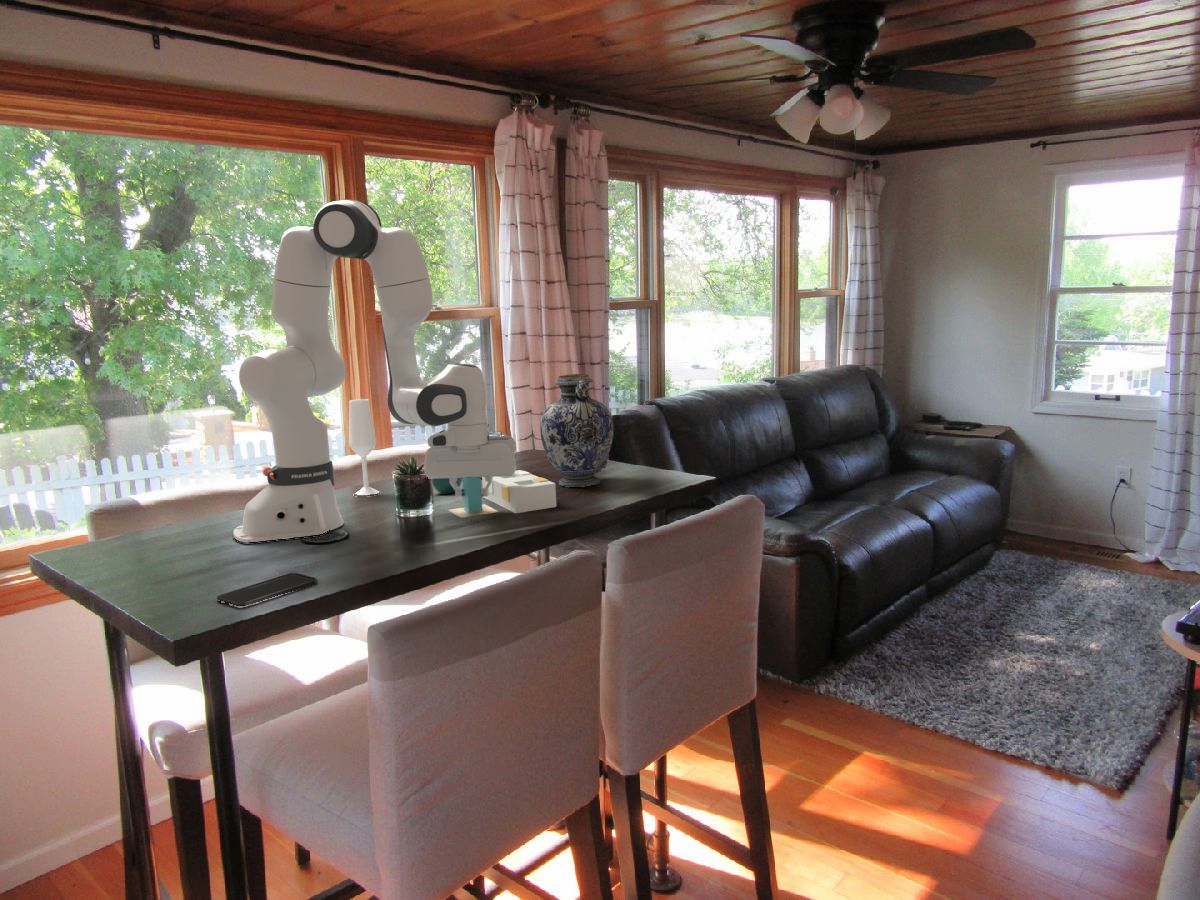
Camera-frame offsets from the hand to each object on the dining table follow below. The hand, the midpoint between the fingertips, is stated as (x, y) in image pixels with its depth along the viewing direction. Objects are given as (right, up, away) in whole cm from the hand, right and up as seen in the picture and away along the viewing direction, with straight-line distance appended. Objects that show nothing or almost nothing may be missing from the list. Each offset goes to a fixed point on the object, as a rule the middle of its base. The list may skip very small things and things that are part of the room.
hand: (472, 496), depth 196 cm
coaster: (0, -4, +1) cm, 4 cm away
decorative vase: (+23, +2, +29) cm, 37 cm away
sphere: (-10, -1, +23) cm, 24 cm away
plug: (0, -3, +1) cm, 3 cm away
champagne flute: (-31, -1, +26) cm, 40 cm away
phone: (-27, -14, -49) cm, 58 cm away
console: (+10, -2, +8) cm, 13 cm away
